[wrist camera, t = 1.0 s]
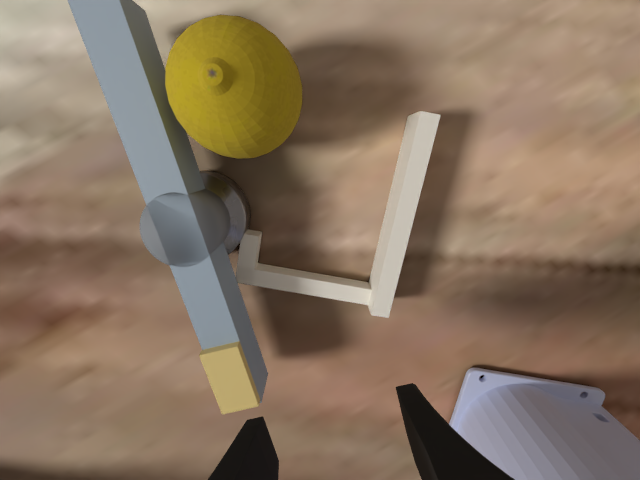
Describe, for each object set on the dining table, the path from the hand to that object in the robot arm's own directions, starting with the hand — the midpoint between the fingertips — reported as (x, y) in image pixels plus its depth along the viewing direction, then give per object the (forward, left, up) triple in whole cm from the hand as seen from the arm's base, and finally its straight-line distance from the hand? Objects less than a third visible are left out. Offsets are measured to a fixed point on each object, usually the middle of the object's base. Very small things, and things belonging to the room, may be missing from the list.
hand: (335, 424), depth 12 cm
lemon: (+6, -11, -10) cm, 16 cm away
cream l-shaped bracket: (+1, -6, -10) cm, 12 cm away
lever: (+8, -5, -8) cm, 12 cm away
